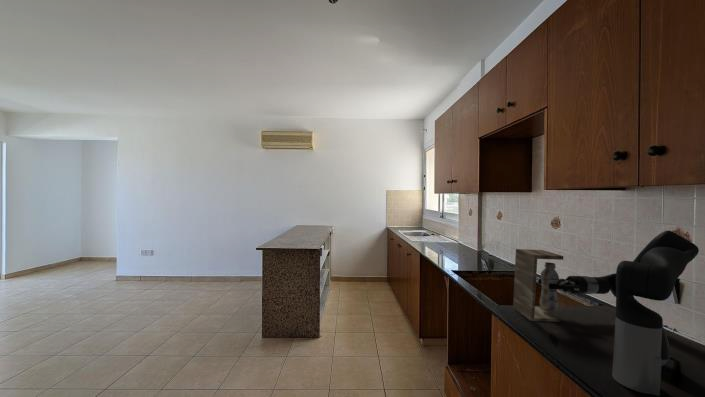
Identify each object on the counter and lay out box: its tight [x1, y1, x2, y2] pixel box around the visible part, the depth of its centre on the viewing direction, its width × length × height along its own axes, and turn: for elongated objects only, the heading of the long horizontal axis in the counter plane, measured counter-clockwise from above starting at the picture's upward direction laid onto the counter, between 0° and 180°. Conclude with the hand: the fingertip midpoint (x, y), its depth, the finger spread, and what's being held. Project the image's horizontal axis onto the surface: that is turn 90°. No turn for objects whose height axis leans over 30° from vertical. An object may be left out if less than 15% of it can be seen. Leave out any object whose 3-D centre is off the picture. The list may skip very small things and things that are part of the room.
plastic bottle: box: [539, 261, 560, 311], centre depth 127 cm, size 6×7×20 cm
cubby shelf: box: [512, 248, 564, 323], centre depth 127 cm, size 12×13×27 cm
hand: (544, 283), depth 127 cm, fingers closed on plastic bottle, 6 cm apart
